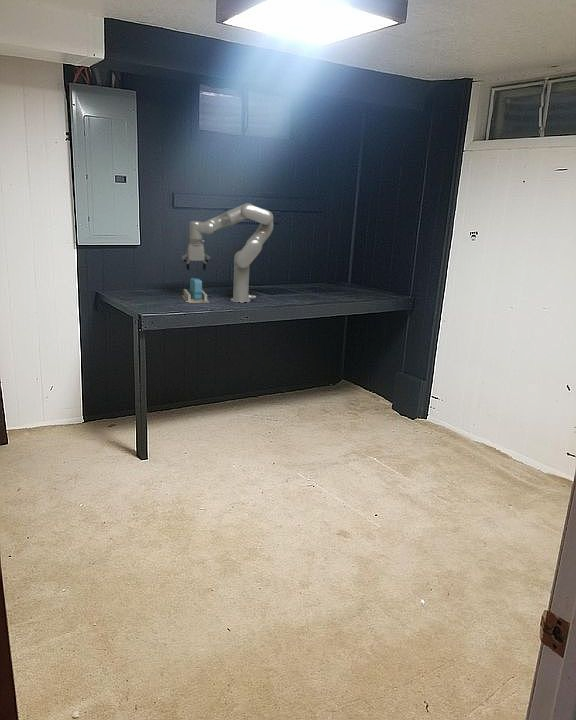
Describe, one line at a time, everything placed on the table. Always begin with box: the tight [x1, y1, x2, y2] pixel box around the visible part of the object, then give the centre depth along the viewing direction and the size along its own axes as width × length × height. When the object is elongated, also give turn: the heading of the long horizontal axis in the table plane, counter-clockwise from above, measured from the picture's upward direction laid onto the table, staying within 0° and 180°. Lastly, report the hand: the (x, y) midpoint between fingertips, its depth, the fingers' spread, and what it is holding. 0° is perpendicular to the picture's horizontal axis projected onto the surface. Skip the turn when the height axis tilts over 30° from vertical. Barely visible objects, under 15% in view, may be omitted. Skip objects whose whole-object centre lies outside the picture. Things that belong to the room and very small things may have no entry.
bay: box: [181, 288, 210, 304], centre depth 365 cm, size 20×14×5 cm
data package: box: [189, 277, 203, 300], centre depth 364 cm, size 12×4×12 cm, turn 23°
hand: (196, 270), depth 361 cm, fingers open, 9 cm apart
